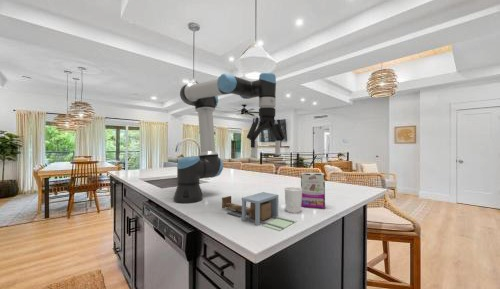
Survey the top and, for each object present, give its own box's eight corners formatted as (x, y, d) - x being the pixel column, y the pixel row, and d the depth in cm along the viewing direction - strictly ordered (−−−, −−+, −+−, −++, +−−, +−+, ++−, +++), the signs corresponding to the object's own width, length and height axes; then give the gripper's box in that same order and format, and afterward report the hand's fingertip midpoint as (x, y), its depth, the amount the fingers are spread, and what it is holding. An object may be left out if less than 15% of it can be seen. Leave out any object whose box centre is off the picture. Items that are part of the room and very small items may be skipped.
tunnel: (222, 214, 93) (223, 193, 93) (244, 207, 103) (244, 188, 103) (278, 231, 75) (278, 205, 75) (297, 221, 85) (297, 198, 85)
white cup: (282, 211, 97) (282, 189, 97) (287, 207, 104) (287, 186, 104) (299, 214, 93) (299, 191, 93) (304, 209, 100) (304, 188, 100)
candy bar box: (324, 206, 106) (324, 172, 106) (325, 209, 101) (325, 174, 101) (301, 204, 109) (301, 171, 109) (300, 207, 105) (300, 173, 105)
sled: (221, 209, 99) (221, 195, 99) (230, 206, 104) (230, 193, 104) (262, 220, 84) (262, 205, 84) (270, 216, 89) (270, 202, 89)
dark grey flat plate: (226, 213, 94) (226, 213, 94) (241, 208, 102) (241, 208, 102) (239, 217, 89) (239, 217, 89) (255, 211, 97) (255, 211, 97)
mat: (262, 225, 80) (262, 224, 80) (280, 217, 89) (280, 216, 89) (279, 231, 75) (279, 230, 75) (296, 221, 84) (296, 221, 84)
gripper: (249, 103, 88) (248, 156, 88) (292, 109, 102) (292, 154, 102) (239, 106, 94) (238, 155, 94) (281, 111, 108) (281, 153, 108)
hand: (266, 155), depth 98 cm, fingers open, 13 cm apart
